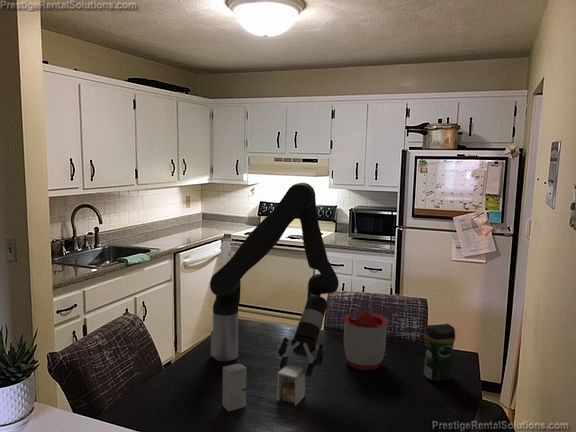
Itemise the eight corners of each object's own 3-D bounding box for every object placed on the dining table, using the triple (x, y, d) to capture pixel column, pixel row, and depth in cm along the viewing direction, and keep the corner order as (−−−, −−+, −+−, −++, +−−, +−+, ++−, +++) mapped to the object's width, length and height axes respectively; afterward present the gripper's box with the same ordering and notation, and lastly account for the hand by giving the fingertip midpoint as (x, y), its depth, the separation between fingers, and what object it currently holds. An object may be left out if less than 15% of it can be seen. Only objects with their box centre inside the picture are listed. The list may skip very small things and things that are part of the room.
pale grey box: (277, 400, 144) (277, 372, 143) (286, 391, 150) (286, 364, 149) (296, 405, 141) (296, 377, 140) (304, 396, 147) (305, 368, 146)
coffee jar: (443, 370, 167) (447, 320, 164) (456, 381, 159) (460, 328, 157) (419, 373, 164) (422, 321, 162) (431, 383, 157) (434, 330, 154)
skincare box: (228, 412, 137) (228, 372, 135) (221, 405, 141) (221, 366, 139) (247, 406, 140) (247, 367, 139) (240, 399, 144) (240, 362, 142)
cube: (282, 400, 145) (282, 387, 144) (288, 394, 148) (288, 382, 148) (294, 403, 143) (294, 390, 142) (299, 397, 146) (299, 385, 146)
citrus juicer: (366, 350, 183) (368, 300, 180) (394, 369, 167) (397, 314, 165) (331, 357, 176) (333, 305, 173) (357, 377, 160) (360, 320, 158)
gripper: (286, 317, 155) (270, 363, 146) (327, 324, 149) (312, 373, 140) (293, 327, 161) (277, 373, 152) (332, 335, 154) (318, 382, 146)
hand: (294, 373), depth 146 cm, fingers open, 8 cm apart
